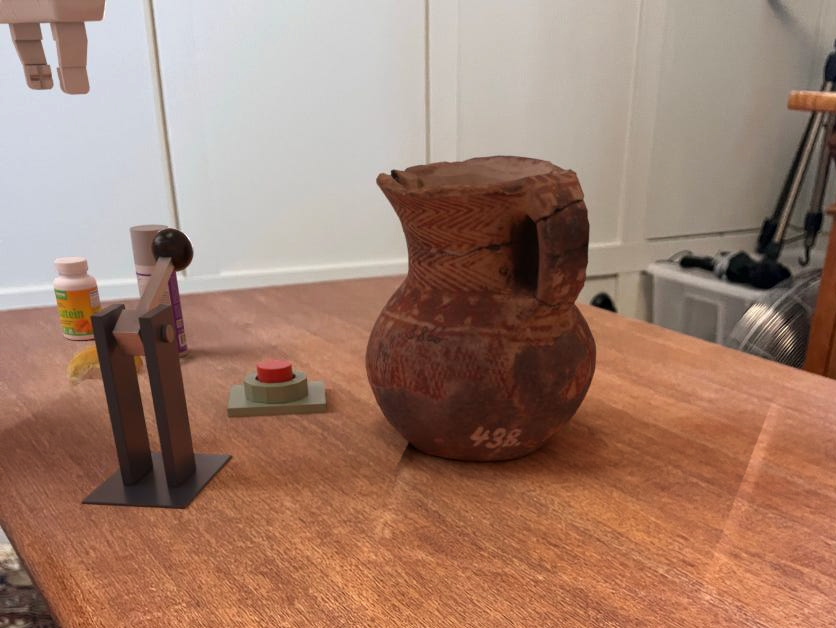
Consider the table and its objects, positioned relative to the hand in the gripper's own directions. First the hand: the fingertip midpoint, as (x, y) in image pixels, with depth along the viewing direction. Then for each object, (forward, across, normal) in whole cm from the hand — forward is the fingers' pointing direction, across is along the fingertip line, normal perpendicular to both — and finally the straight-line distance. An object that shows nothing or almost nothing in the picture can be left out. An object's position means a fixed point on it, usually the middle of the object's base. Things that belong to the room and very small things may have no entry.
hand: (58, 91), depth 80 cm
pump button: (+28, -5, +18) cm, 33 cm away
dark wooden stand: (+31, +9, 0) cm, 32 cm away
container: (+31, -34, +17) cm, 49 cm away
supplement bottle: (+31, -50, +11) cm, 59 cm away
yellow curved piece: (+31, -28, +7) cm, 42 cm away
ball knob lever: (+16, +4, +4) cm, 17 cm away
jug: (+32, +14, +31) cm, 46 cm away
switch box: (+31, -5, +18) cm, 36 cm away
